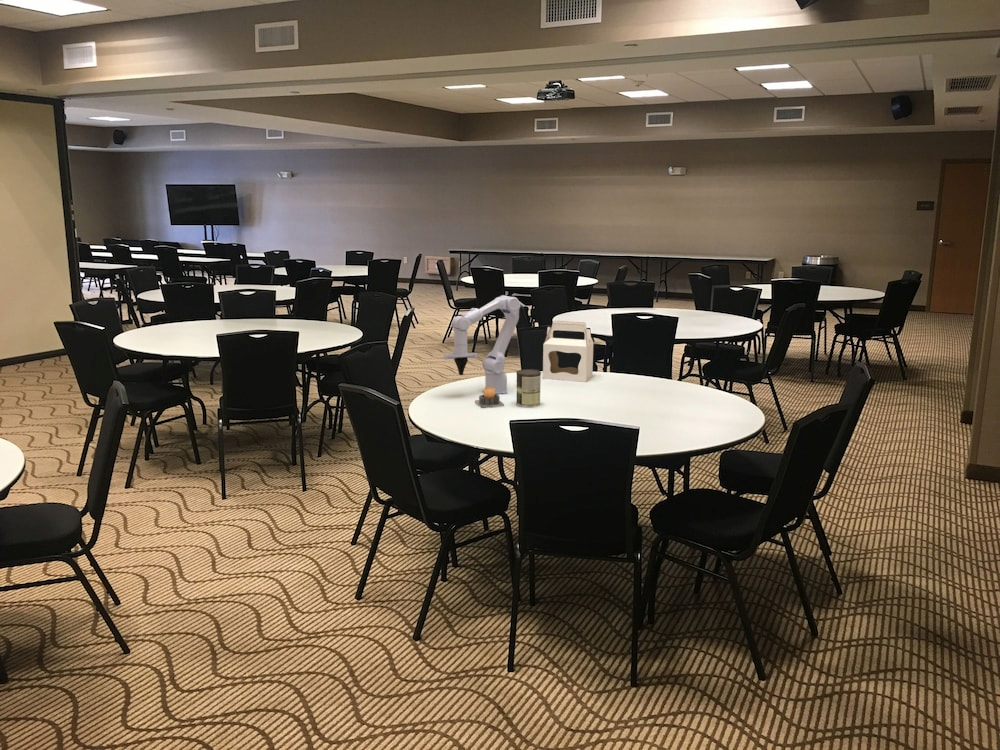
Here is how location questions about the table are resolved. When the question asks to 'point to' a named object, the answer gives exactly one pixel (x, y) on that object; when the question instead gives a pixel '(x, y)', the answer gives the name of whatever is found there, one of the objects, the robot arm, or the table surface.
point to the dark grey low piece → (489, 401)
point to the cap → (489, 392)
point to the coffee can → (528, 387)
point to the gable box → (568, 346)
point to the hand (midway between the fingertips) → (460, 374)
